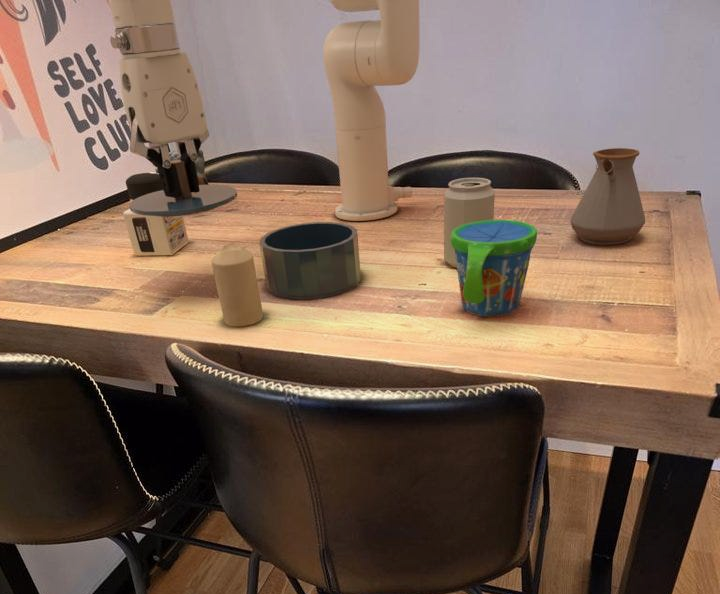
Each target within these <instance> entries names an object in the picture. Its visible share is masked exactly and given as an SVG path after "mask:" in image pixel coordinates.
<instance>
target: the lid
mask: <svg viewBox="0 0 720 594" xmlns="http://www.w3.org/2000/svg"><path fill="white" fill-rule="evenodd" d="M171 167H175V169H176V173H177V177H178V182H179V186H180V191H181V197H179V198H173V197H167V196H165V193H164V191H163V190H161V191H157V192H153V193H149V194H146V195H143V196H141V197H138V198H136V199H134V200H133V201H132V202H131V201H130V202H129V206H128V207H129V209H130V210H131V211H132V212H133V213H136V214H140V215H147V216H160V217H170V216H183V217H184V216H189V215H190V216H191V215H196V214H200V213H205V212H208V211H212V210H214V209H217V208H219V207H221V206H225V205H227V204H230V203H232V202H233V201H234V200H236V199H237V197H238V191H237V189H236V188H235V187H232V186H229V185H224V184H209V185H199V189H200V191H199V192H197V193H194V192H191V187H190V183H189V178H188V173H187V169H186V164H185V160H172V161H171Z"/></svg>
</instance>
